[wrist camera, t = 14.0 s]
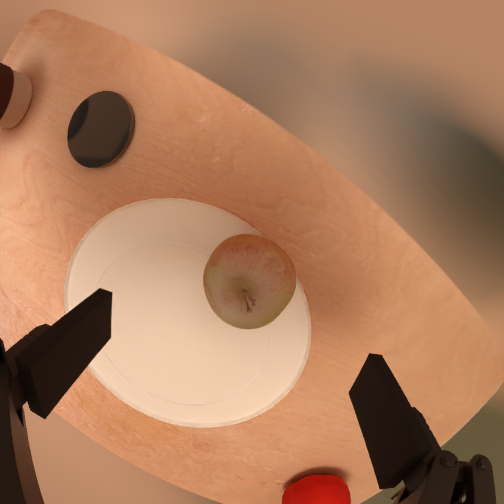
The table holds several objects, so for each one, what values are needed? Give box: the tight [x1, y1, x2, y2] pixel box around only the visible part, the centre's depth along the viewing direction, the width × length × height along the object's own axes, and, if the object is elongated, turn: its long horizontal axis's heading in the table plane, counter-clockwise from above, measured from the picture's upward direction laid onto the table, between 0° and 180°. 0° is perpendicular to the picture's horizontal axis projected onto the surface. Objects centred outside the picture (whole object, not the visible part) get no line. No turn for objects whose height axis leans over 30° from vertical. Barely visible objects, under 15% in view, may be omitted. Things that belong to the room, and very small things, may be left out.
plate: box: [64, 198, 312, 428], centre depth 29 cm, size 28×28×1 cm
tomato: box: [282, 474, 351, 504], centre depth 31 cm, size 11×12×9 cm
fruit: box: [203, 234, 296, 329], centre depth 23 cm, size 8×7×8 cm
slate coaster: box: [67, 91, 135, 168], centre depth 24 cm, size 8×8×1 cm
